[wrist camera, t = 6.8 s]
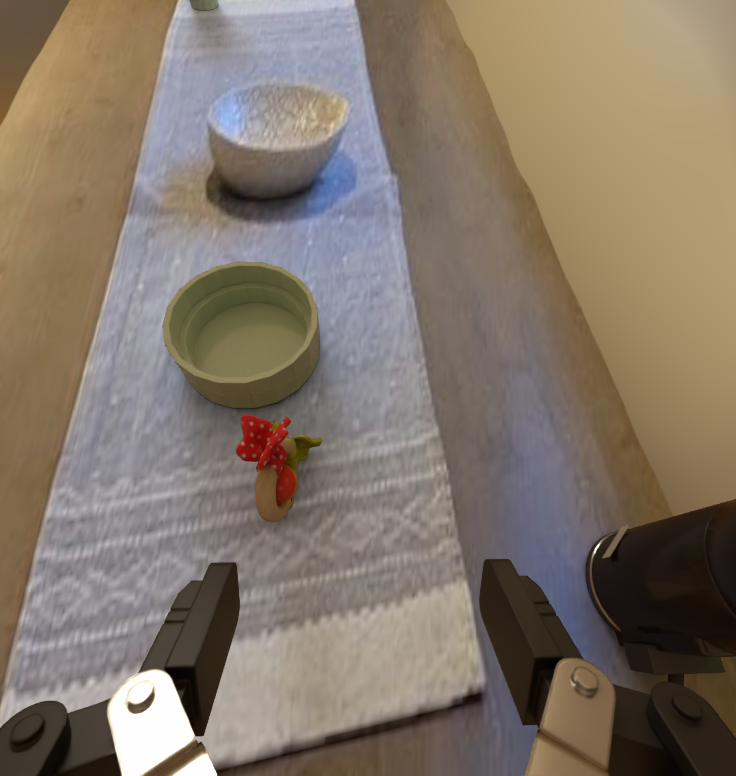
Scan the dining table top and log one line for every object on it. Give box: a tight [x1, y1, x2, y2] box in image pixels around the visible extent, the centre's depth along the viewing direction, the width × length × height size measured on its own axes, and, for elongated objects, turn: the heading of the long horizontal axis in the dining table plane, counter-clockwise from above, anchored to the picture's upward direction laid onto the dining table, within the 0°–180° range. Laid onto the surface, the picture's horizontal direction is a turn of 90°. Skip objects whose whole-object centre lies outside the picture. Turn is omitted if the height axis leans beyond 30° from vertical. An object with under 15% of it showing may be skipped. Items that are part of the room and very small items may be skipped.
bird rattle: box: [236, 415, 323, 522], centre depth 36 cm, size 6×11×9 cm
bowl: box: [162, 262, 320, 408], centre depth 45 cm, size 15×15×6 cm
